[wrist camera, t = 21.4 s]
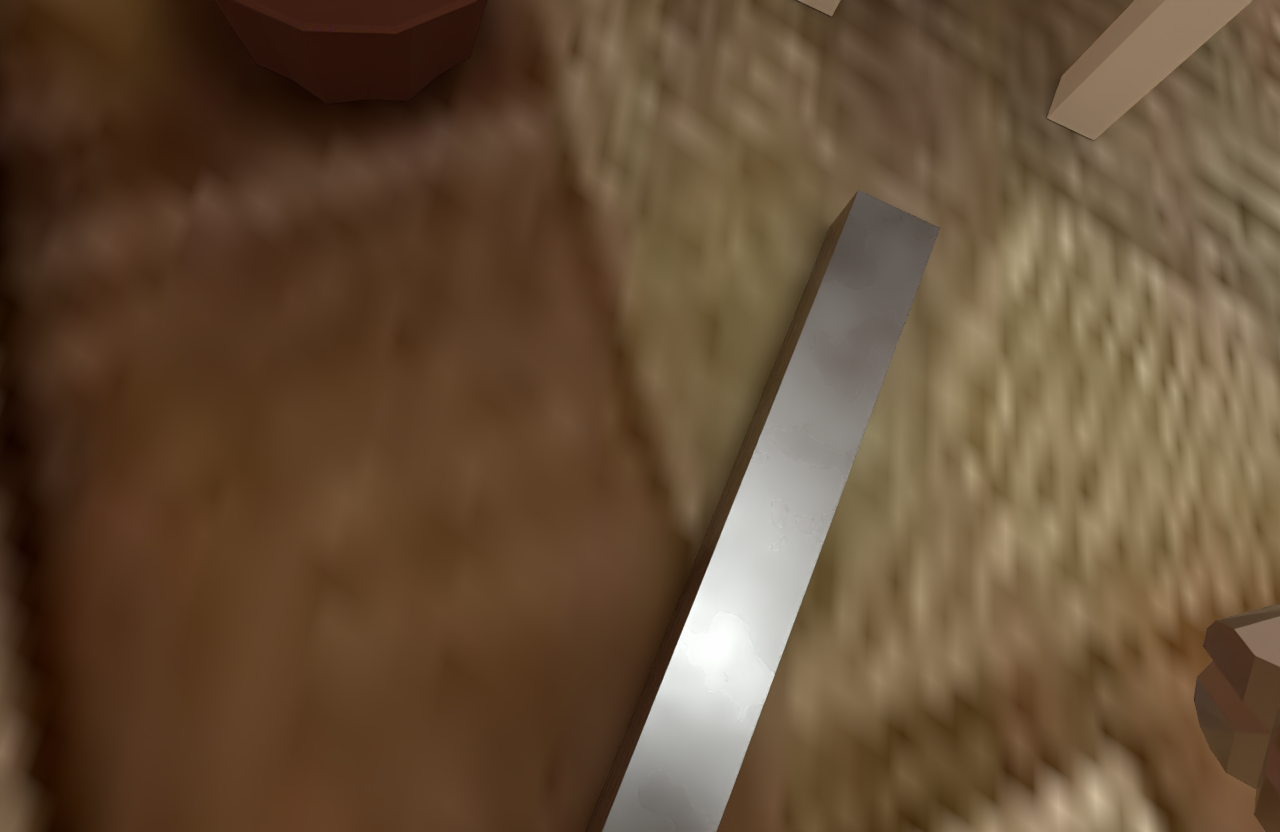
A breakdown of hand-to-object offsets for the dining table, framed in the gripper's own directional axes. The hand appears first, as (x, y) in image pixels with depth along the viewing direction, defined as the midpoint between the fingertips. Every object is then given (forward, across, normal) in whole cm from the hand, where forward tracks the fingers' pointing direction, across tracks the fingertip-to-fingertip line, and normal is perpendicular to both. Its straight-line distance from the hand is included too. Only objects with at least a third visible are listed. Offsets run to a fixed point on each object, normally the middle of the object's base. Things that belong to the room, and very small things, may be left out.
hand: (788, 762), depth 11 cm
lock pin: (+20, -2, +17) cm, 26 cm away
